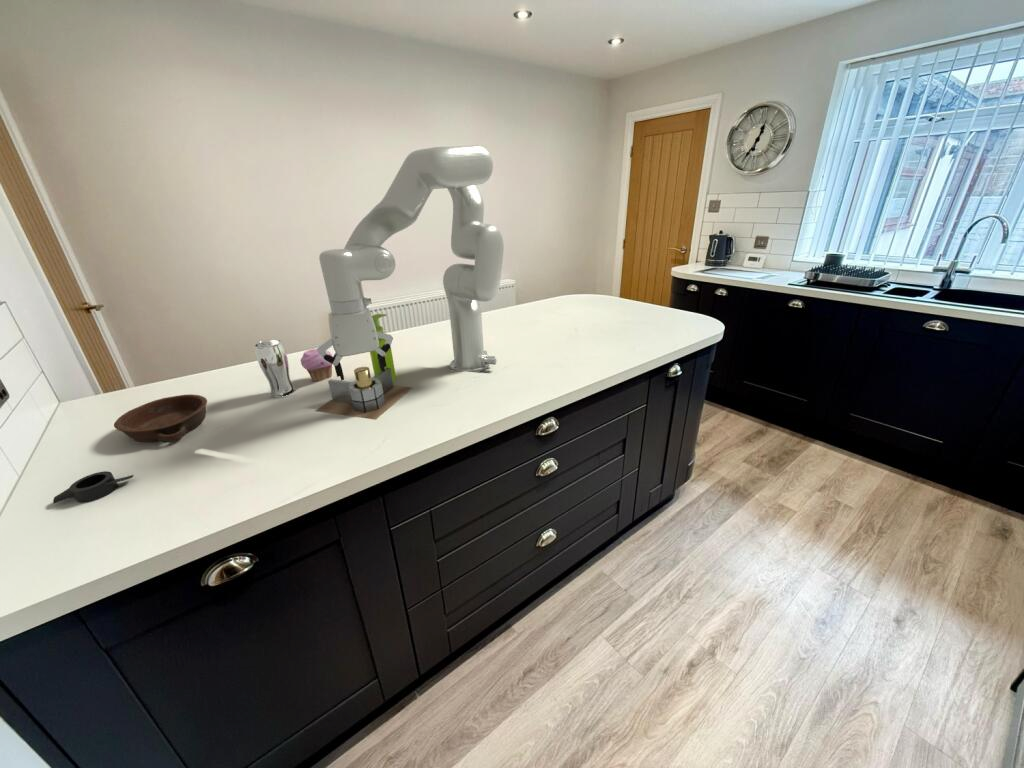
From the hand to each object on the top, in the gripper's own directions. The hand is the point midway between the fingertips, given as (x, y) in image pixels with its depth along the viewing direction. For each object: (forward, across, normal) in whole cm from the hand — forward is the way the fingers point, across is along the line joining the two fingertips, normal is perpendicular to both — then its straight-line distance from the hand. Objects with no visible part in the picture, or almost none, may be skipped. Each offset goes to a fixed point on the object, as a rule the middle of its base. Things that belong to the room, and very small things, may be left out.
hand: (362, 374), depth 97 cm
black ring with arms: (+10, +52, +6) cm, 53 cm away
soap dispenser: (+10, -8, -15) cm, 19 cm away
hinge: (+9, 0, -5) cm, 10 cm away
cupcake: (+10, +9, -26) cm, 30 cm away
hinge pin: (+9, 0, 0) cm, 9 cm away
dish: (+10, +44, -16) cm, 48 cm away
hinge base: (+10, 0, -4) cm, 11 cm away
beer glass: (+10, +20, -23) cm, 32 cm away
